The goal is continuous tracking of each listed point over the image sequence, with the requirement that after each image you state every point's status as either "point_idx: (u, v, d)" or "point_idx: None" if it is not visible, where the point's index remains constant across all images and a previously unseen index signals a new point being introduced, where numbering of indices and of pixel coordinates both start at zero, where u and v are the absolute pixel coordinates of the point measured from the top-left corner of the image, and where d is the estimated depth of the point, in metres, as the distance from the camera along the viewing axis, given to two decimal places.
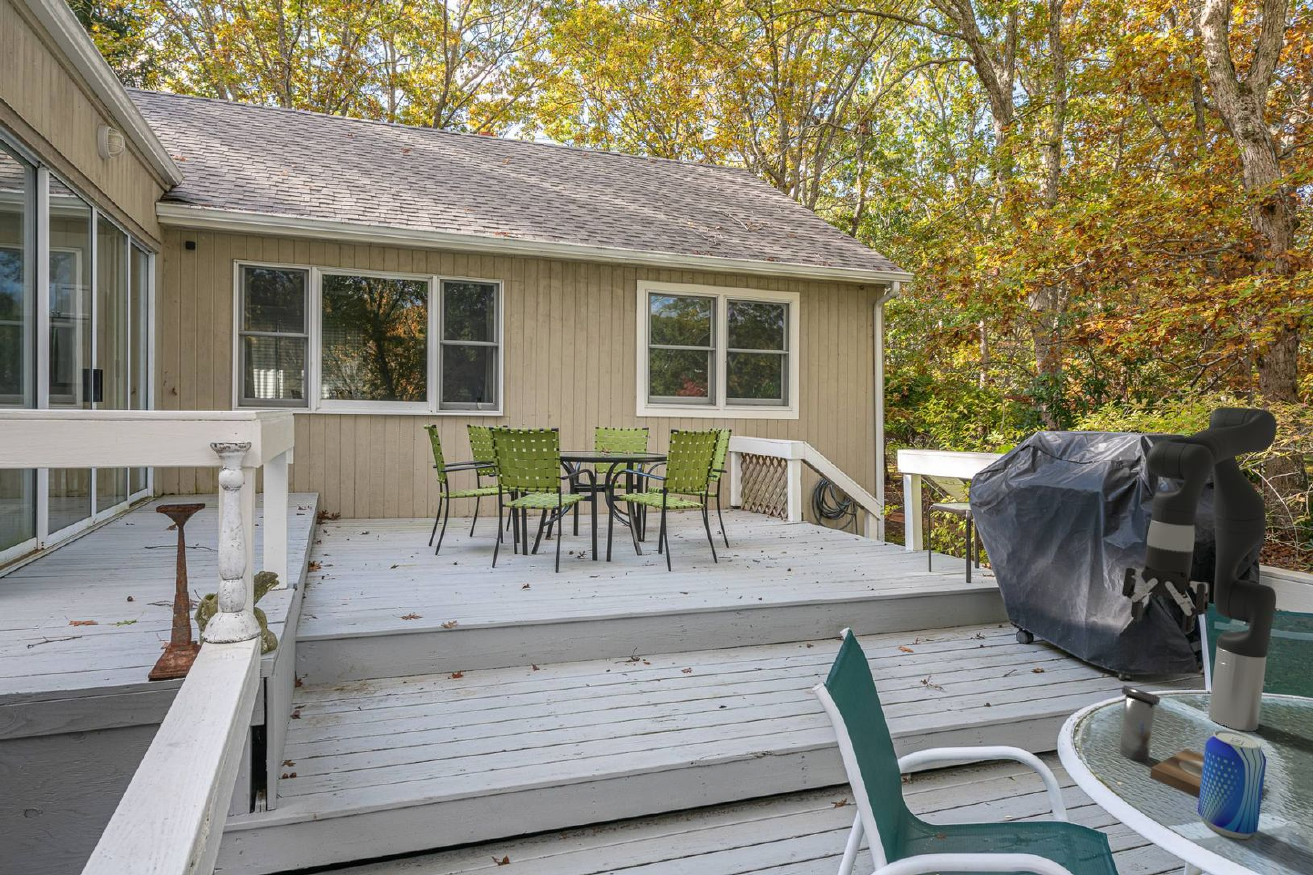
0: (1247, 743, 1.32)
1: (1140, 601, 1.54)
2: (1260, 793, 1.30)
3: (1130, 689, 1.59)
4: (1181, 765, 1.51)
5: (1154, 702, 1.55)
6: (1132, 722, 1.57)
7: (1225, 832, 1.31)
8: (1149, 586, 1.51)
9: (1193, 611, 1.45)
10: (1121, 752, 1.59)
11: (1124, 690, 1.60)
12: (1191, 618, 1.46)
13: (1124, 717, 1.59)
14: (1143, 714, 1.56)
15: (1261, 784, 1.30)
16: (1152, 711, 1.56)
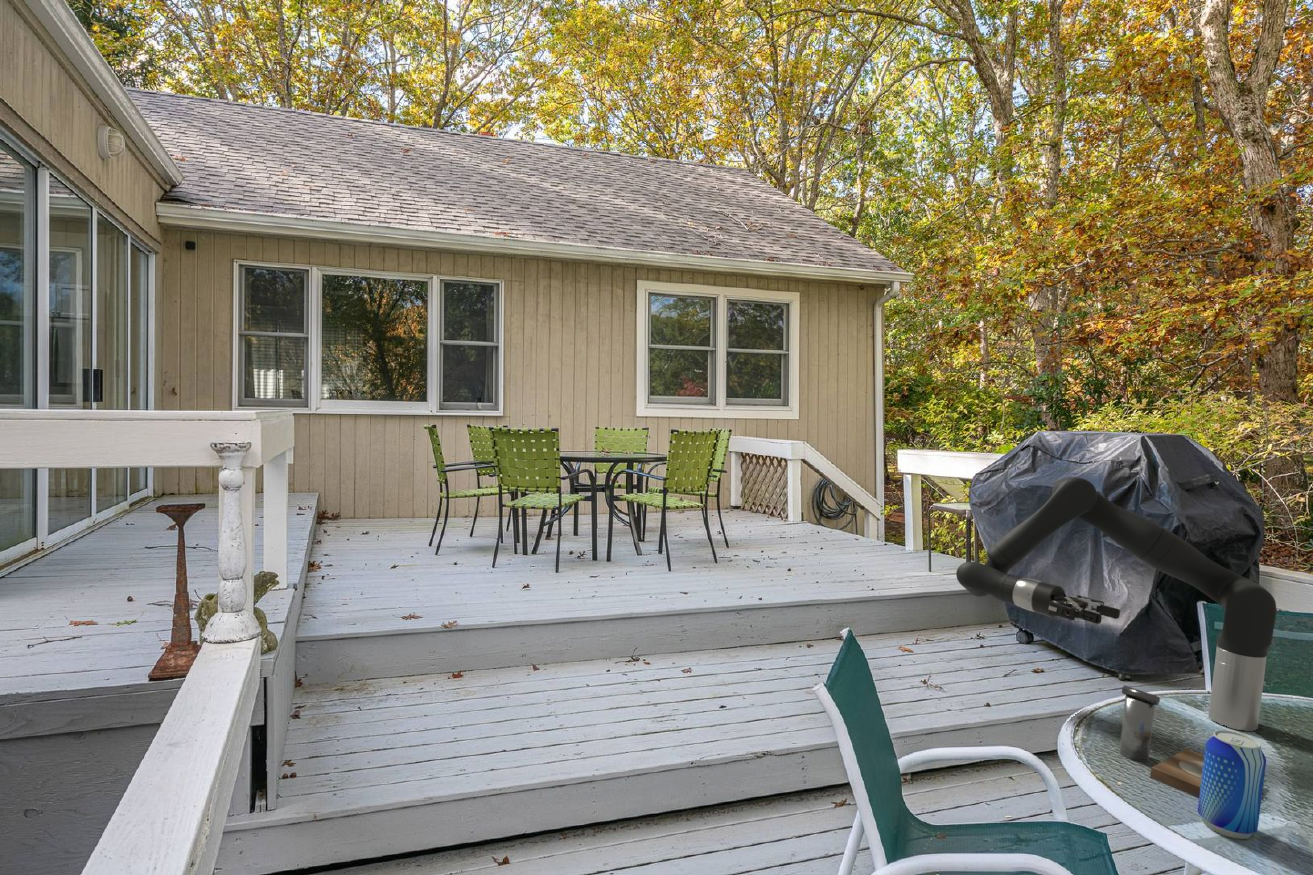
0: (1247, 743, 1.32)
1: (1100, 609, 1.76)
2: (1260, 793, 1.30)
3: (1130, 689, 1.59)
4: (1181, 765, 1.51)
5: (1154, 702, 1.55)
6: (1132, 722, 1.57)
7: (1225, 832, 1.31)
8: None
9: None
10: (1121, 752, 1.59)
11: (1124, 690, 1.60)
12: (1082, 618, 1.70)
13: (1124, 717, 1.59)
14: (1143, 714, 1.56)
15: (1261, 784, 1.30)
16: (1152, 711, 1.56)
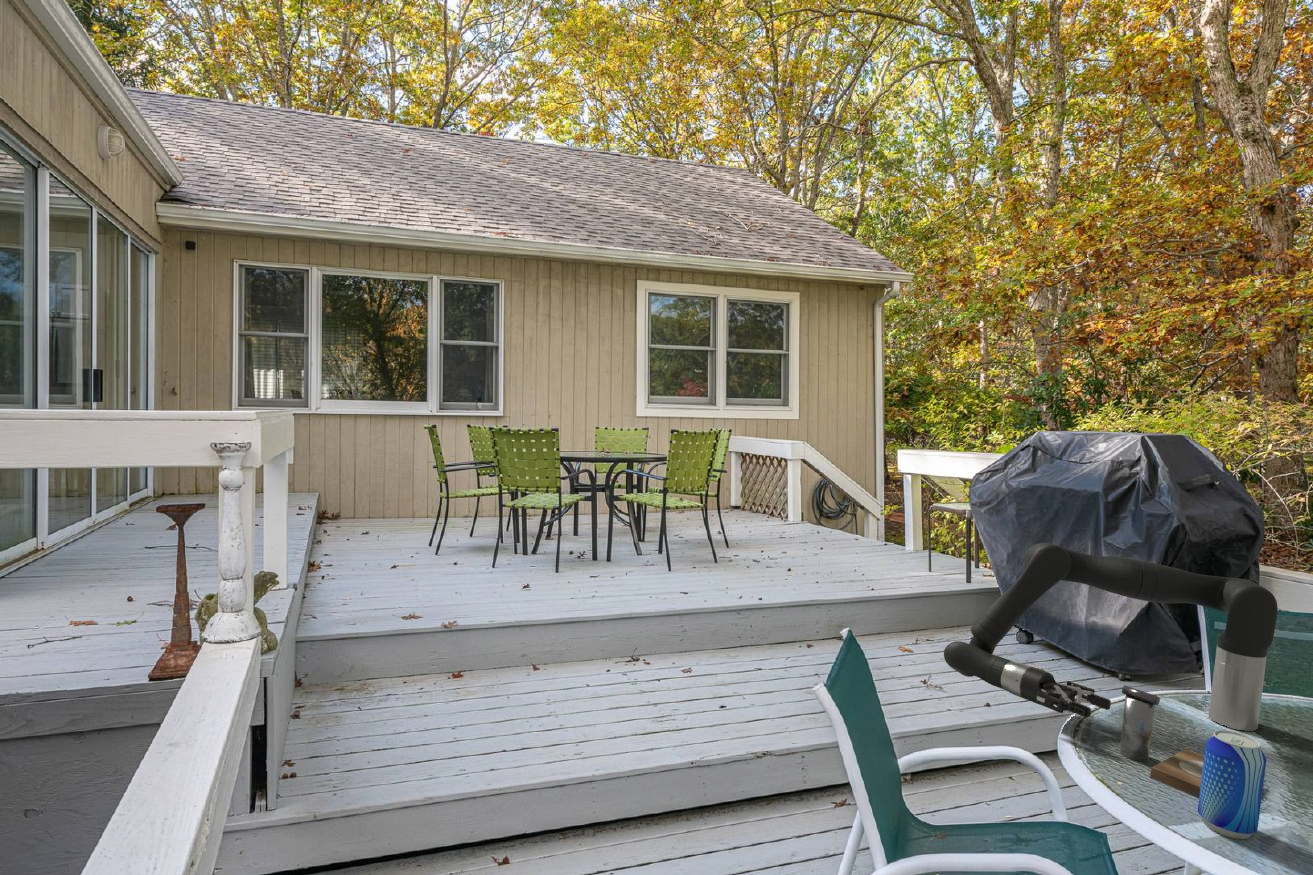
0: (1247, 743, 1.32)
1: (1090, 698, 1.70)
2: (1260, 793, 1.30)
3: (1130, 689, 1.59)
4: (1181, 765, 1.51)
5: (1154, 702, 1.55)
6: (1132, 722, 1.57)
7: (1225, 832, 1.31)
8: None
9: None
10: (1121, 752, 1.59)
11: (1124, 690, 1.60)
12: (1071, 711, 1.64)
13: (1124, 717, 1.59)
14: (1143, 714, 1.56)
15: (1261, 784, 1.30)
16: (1152, 711, 1.56)
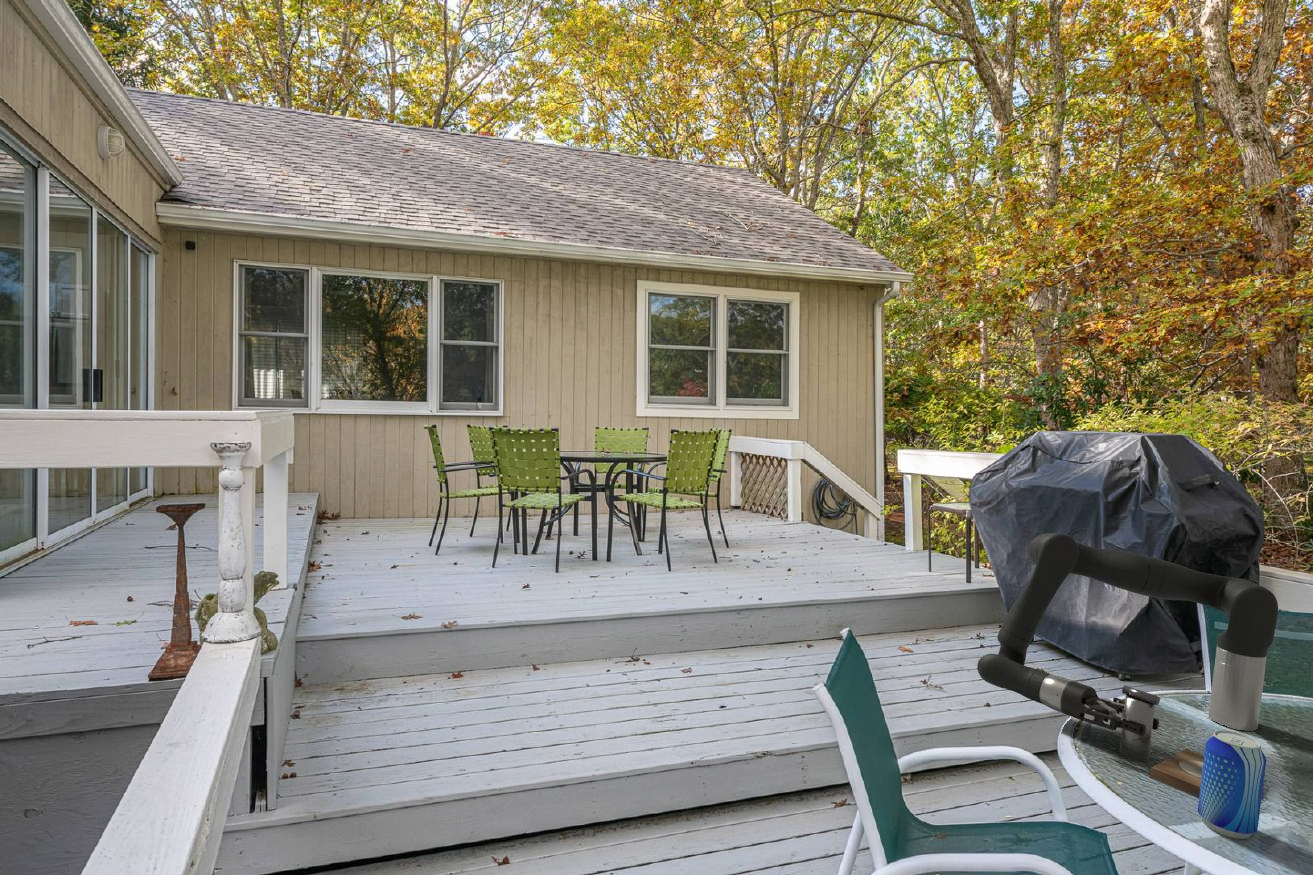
0: (1247, 742, 1.32)
1: None
2: (1260, 793, 1.30)
3: (1130, 689, 1.59)
4: (1181, 765, 1.51)
5: (1154, 702, 1.55)
6: None
7: (1225, 832, 1.31)
8: None
9: None
10: (1121, 752, 1.59)
11: (1124, 690, 1.60)
12: (1125, 728, 1.57)
13: None
14: (1143, 714, 1.56)
15: (1261, 784, 1.30)
16: (1152, 711, 1.56)
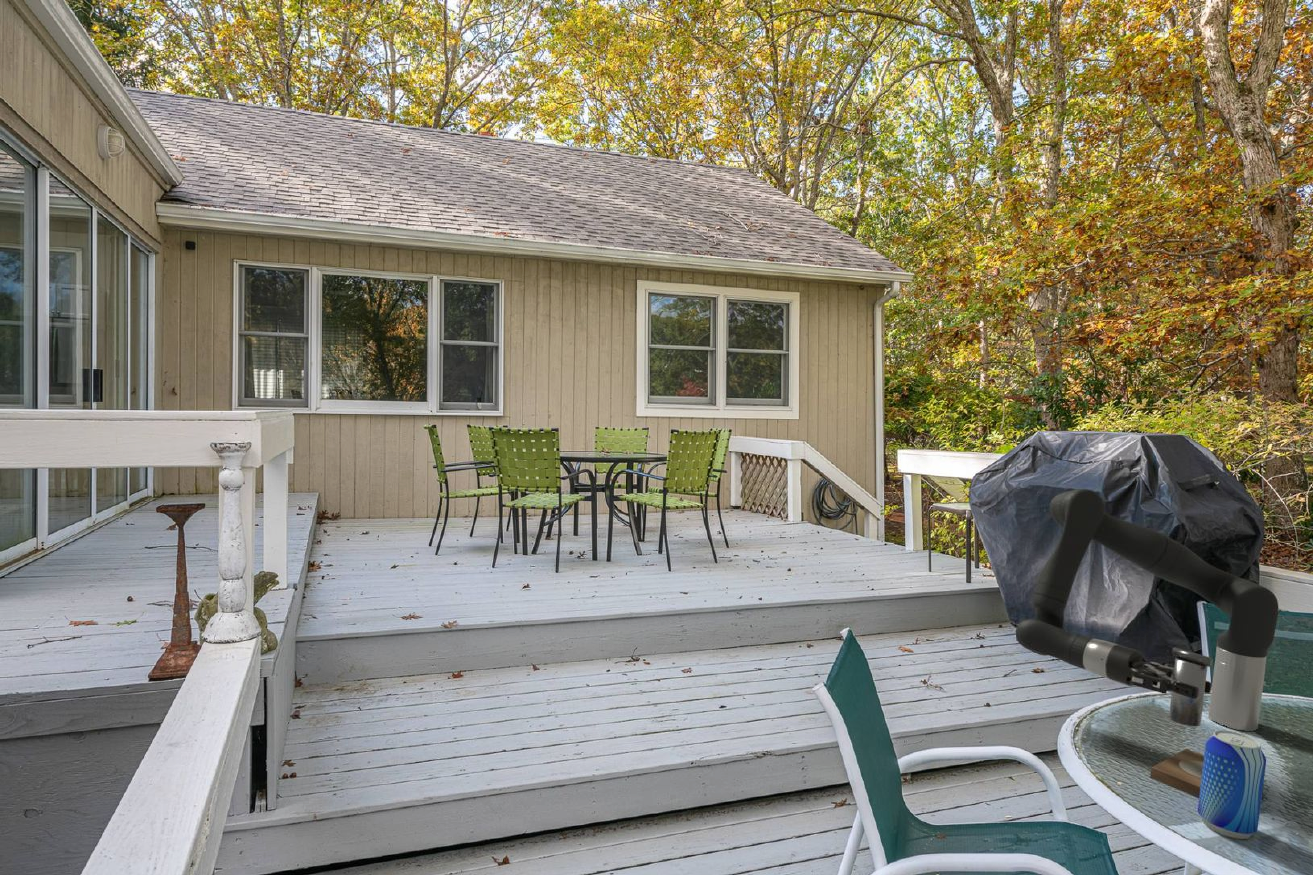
0: (1247, 743, 1.32)
1: None
2: (1260, 793, 1.30)
3: (1180, 651, 1.52)
4: (1181, 765, 1.51)
5: (1207, 663, 1.48)
6: None
7: (1225, 832, 1.31)
8: None
9: None
10: (1171, 717, 1.52)
11: (1174, 652, 1.53)
12: (1176, 691, 1.50)
13: None
14: (1195, 676, 1.49)
15: (1261, 784, 1.30)
16: (1205, 673, 1.49)
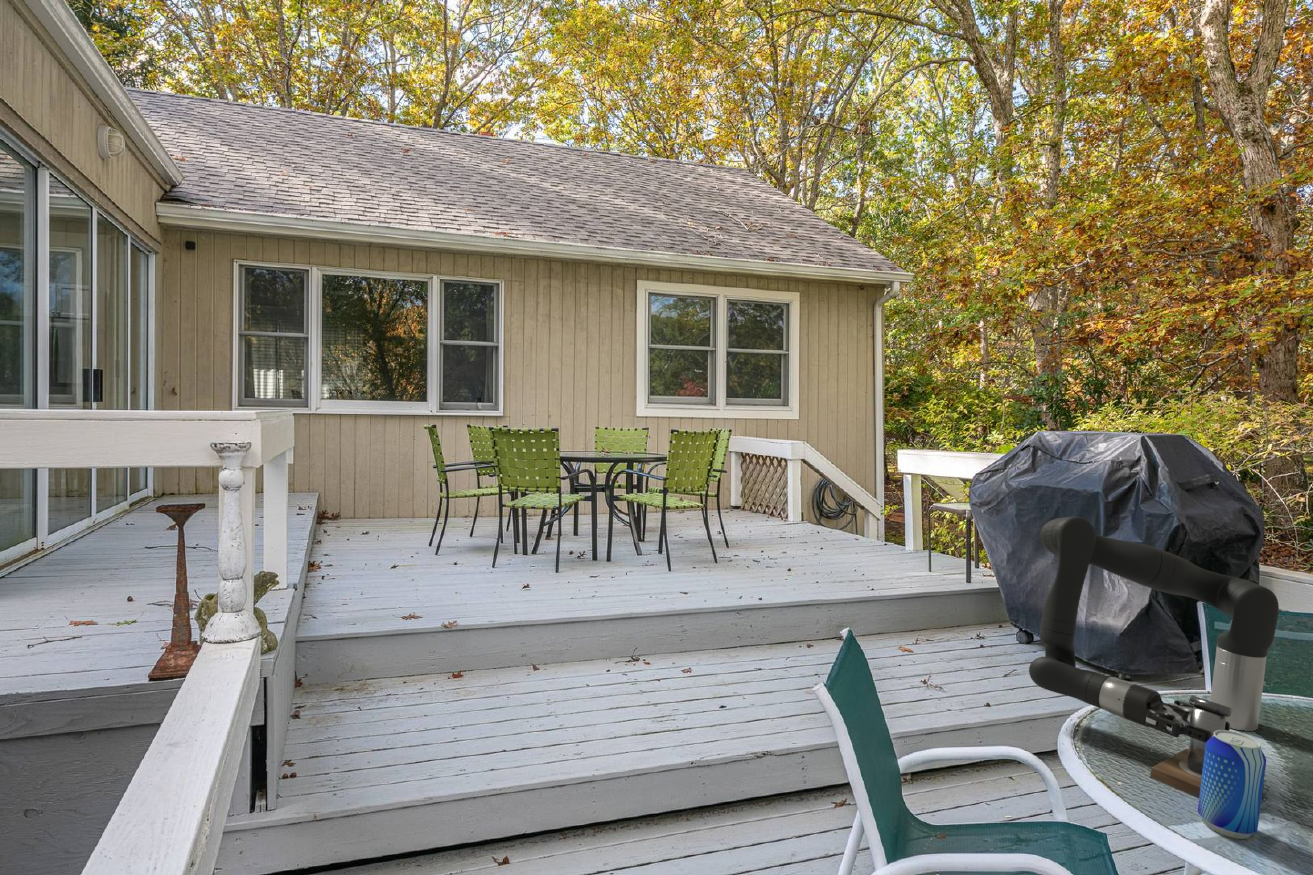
0: (1247, 743, 1.32)
1: None
2: (1260, 793, 1.30)
3: (1198, 699, 1.50)
4: (1181, 765, 1.51)
5: (1226, 714, 1.46)
6: None
7: (1225, 832, 1.31)
8: None
9: None
10: (1189, 766, 1.50)
11: (1192, 700, 1.50)
12: (1188, 735, 1.47)
13: None
14: (1214, 727, 1.46)
15: (1261, 784, 1.30)
16: (1224, 723, 1.47)
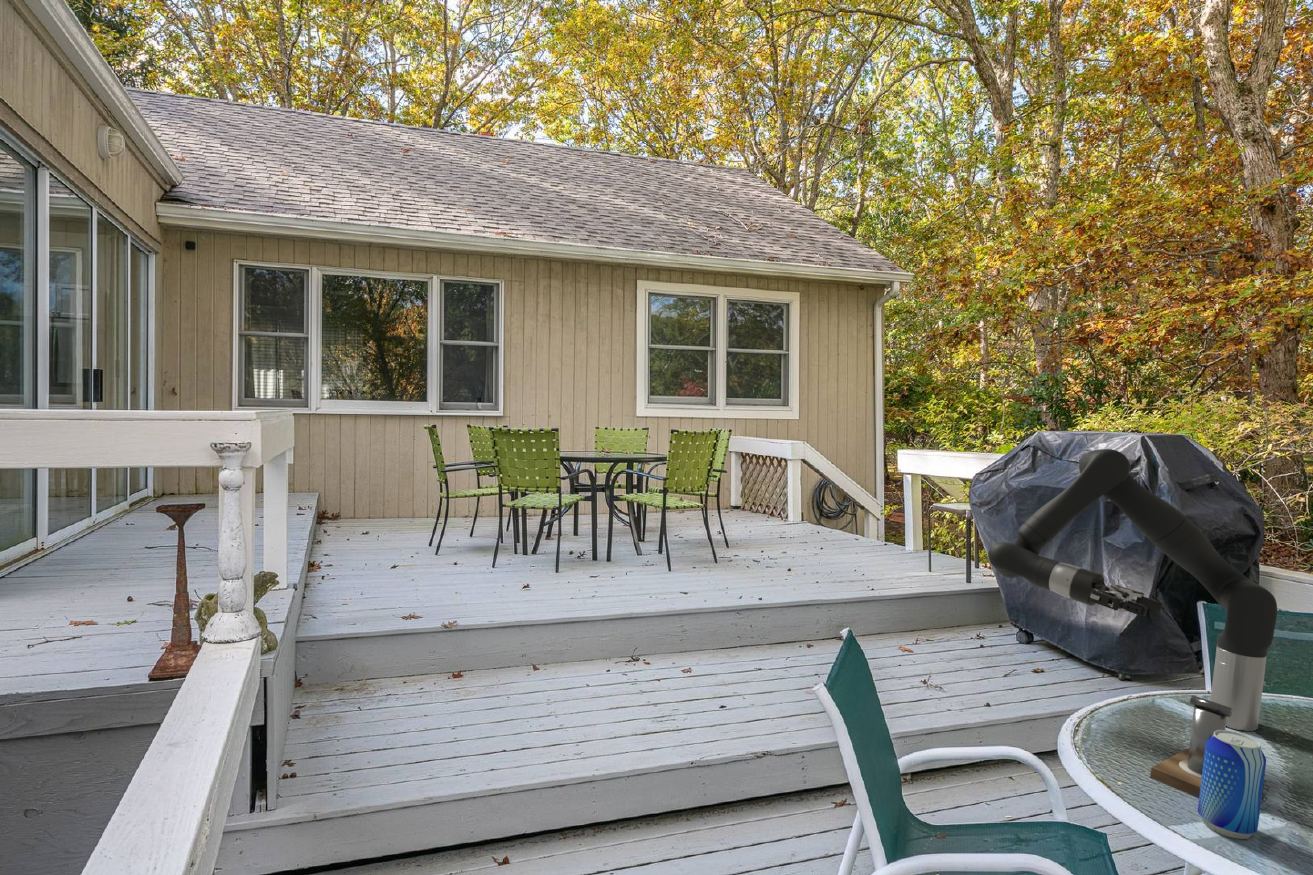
0: (1247, 743, 1.32)
1: (1141, 601, 1.70)
2: (1260, 793, 1.30)
3: (1199, 699, 1.50)
4: (1181, 765, 1.51)
5: (1227, 713, 1.46)
6: (1202, 735, 1.48)
7: (1225, 832, 1.31)
8: None
9: None
10: (1189, 766, 1.50)
11: (1193, 700, 1.50)
12: (1126, 609, 1.63)
13: (1193, 729, 1.50)
14: (1215, 726, 1.46)
15: (1261, 784, 1.30)
16: (1224, 723, 1.47)
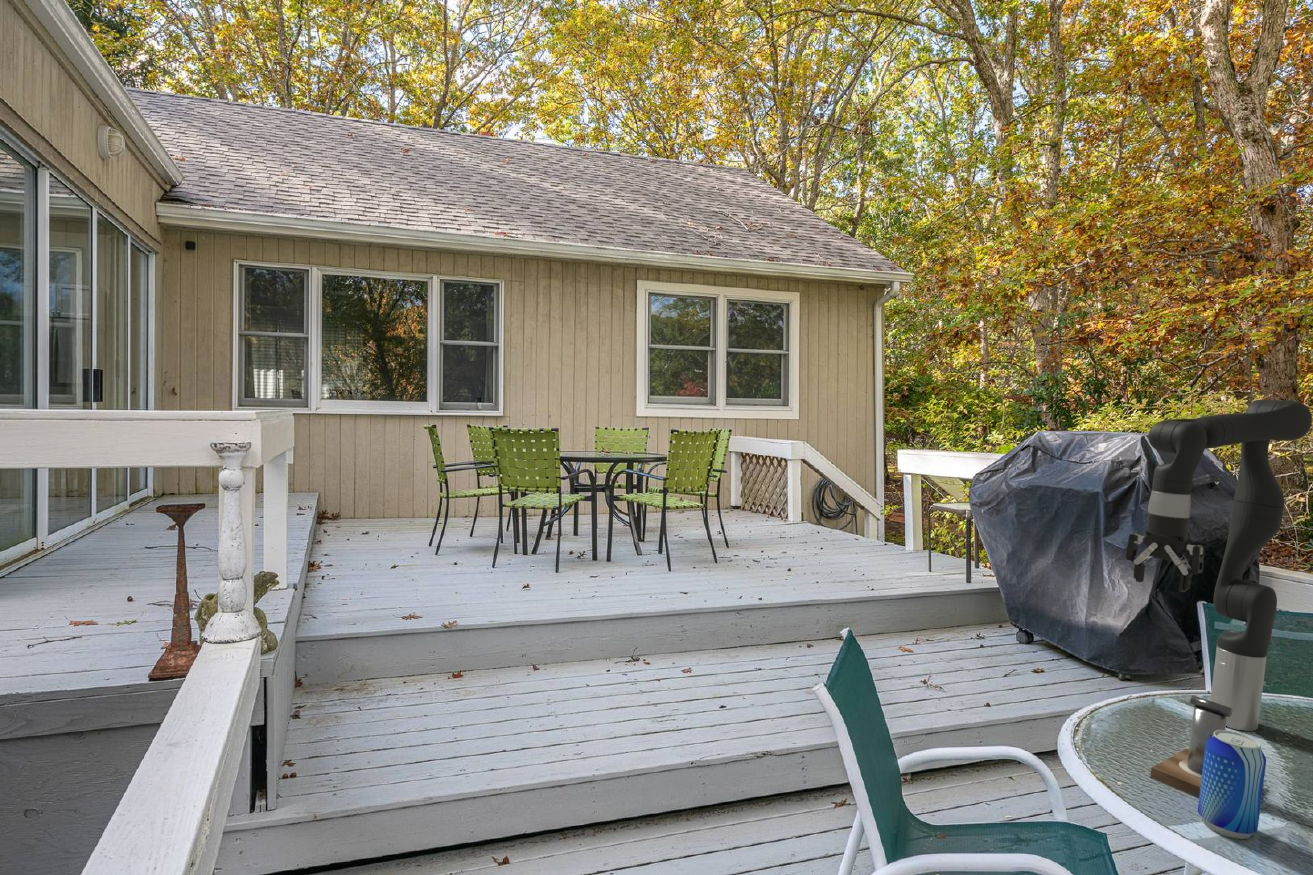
0: (1247, 742, 1.32)
1: (1142, 564, 1.71)
2: (1260, 793, 1.30)
3: (1199, 699, 1.50)
4: (1181, 765, 1.51)
5: (1227, 714, 1.46)
6: (1202, 735, 1.48)
7: (1225, 832, 1.31)
8: (1150, 550, 1.68)
9: (1189, 571, 1.62)
10: (1189, 766, 1.50)
11: (1193, 700, 1.50)
12: (1187, 577, 1.63)
13: (1193, 729, 1.50)
14: (1215, 726, 1.46)
15: (1261, 784, 1.30)
16: (1224, 723, 1.47)
